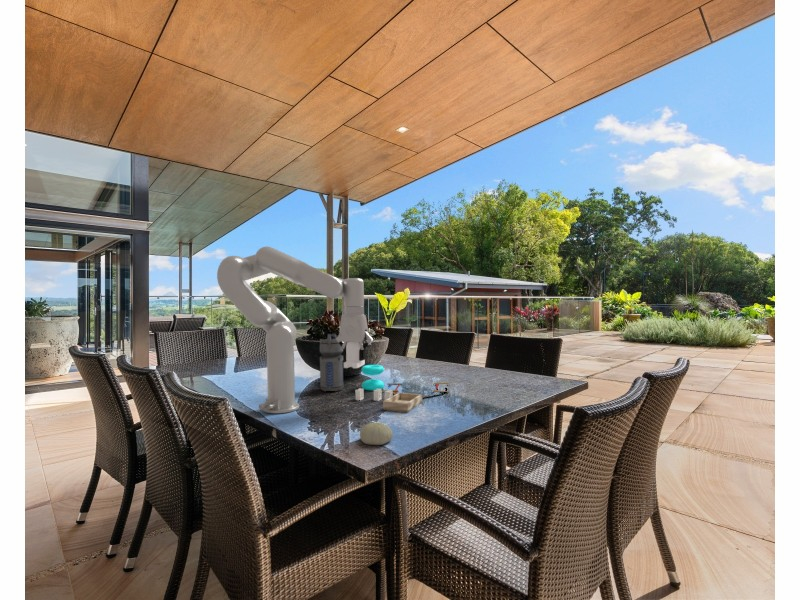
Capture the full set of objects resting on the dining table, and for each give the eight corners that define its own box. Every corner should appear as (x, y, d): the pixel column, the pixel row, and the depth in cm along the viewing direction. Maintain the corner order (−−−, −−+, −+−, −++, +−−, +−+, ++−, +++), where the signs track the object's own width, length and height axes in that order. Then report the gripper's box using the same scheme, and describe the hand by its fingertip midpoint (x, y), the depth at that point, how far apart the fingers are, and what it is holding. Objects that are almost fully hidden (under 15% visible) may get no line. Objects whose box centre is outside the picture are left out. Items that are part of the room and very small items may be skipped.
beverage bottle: (346, 386, 185) (345, 331, 185) (341, 392, 172) (340, 334, 172) (324, 386, 185) (323, 331, 185) (317, 393, 172) (316, 334, 172)
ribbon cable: (450, 401, 156) (449, 384, 186) (450, 398, 156) (449, 382, 186) (376, 401, 159) (386, 384, 189) (376, 398, 159) (386, 382, 189)
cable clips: (387, 403, 154) (387, 392, 154) (355, 400, 159) (355, 389, 159) (393, 400, 158) (393, 390, 158) (361, 397, 164) (361, 387, 164)
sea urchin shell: (382, 426, 120) (390, 411, 115) (390, 451, 116) (400, 437, 111) (353, 431, 116) (360, 416, 111) (361, 457, 111) (369, 443, 106)
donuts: (360, 364, 184) (382, 363, 185) (361, 386, 184) (383, 385, 185) (361, 368, 174) (384, 367, 175) (362, 391, 174) (385, 390, 176)
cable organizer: (365, 363, 155) (365, 337, 155) (357, 368, 145) (356, 340, 145) (352, 363, 156) (351, 337, 156) (343, 367, 146) (342, 340, 146)
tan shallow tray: (407, 412, 141) (407, 403, 141) (383, 409, 145) (382, 401, 145) (422, 402, 154) (422, 394, 154) (399, 400, 158) (399, 392, 158)
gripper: (328, 311, 151) (329, 360, 151) (369, 311, 144) (370, 362, 144) (339, 311, 157) (340, 357, 158) (379, 311, 151) (379, 359, 151)
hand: (354, 359), depth 151 cm, fingers closed on cable organizer, 5 cm apart
